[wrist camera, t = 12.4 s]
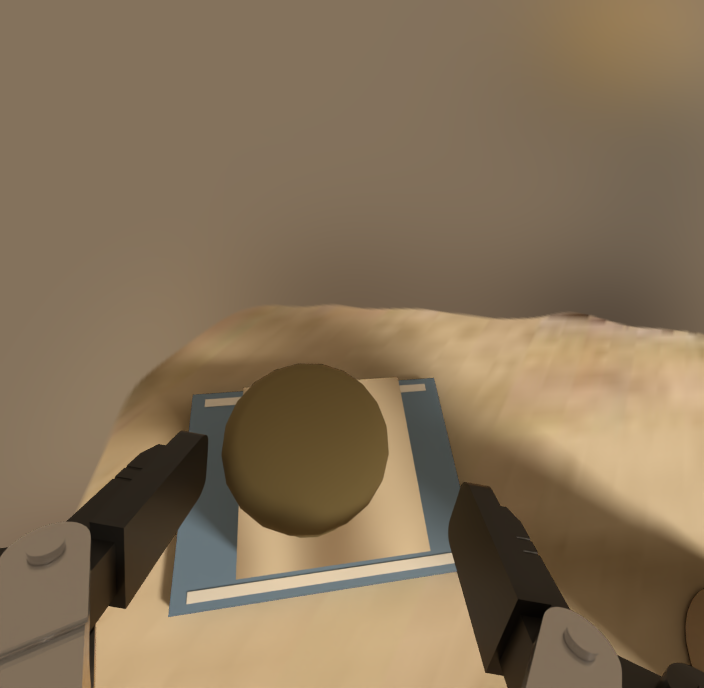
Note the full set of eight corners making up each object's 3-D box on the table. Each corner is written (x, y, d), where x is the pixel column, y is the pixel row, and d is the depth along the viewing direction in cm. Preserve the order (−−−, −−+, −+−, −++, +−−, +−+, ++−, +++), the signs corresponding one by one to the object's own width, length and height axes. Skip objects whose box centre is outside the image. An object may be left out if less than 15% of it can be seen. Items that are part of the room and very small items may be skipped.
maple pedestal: (381, 404, 28) (397, 376, 22) (403, 543, 23) (430, 551, 18) (257, 414, 26) (243, 387, 21) (254, 565, 22) (235, 579, 16)
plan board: (429, 382, 30) (434, 377, 29) (472, 565, 24) (480, 568, 23) (197, 399, 27) (192, 394, 26) (175, 612, 21) (167, 617, 20)
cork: (270, 416, 20) (230, 320, 11) (368, 431, 20) (417, 351, 11) (242, 529, 17) (151, 541, 8) (356, 545, 18) (409, 577, 8)
